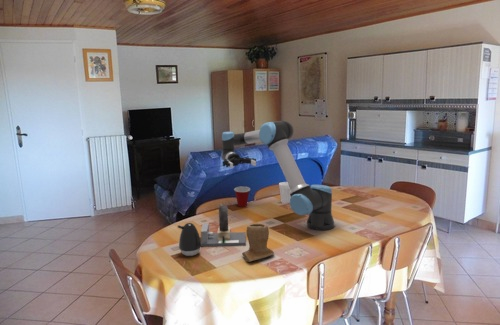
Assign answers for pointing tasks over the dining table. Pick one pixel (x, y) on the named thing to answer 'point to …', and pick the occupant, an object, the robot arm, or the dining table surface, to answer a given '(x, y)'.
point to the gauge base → (212, 240)
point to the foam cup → (285, 192)
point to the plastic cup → (242, 195)
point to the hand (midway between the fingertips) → (244, 164)
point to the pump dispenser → (189, 240)
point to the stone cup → (257, 242)
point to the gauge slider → (223, 224)
